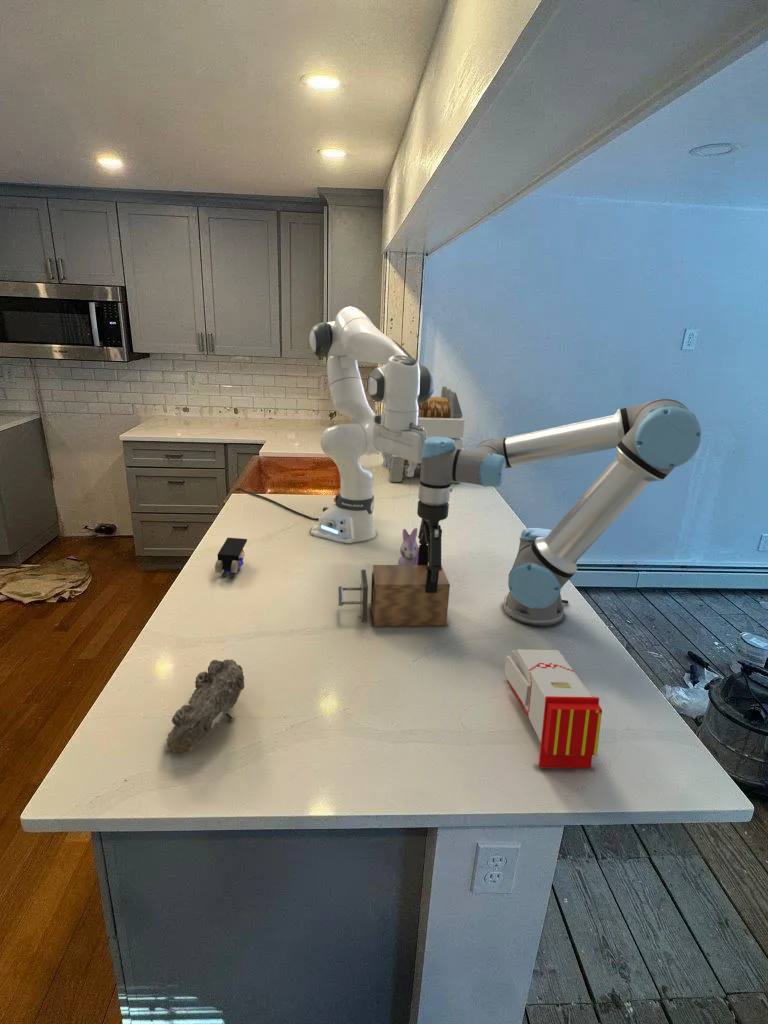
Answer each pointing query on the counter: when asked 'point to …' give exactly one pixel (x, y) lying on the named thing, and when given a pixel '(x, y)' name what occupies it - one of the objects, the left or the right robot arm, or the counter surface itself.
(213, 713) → the fossil
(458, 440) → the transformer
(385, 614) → the cabinet
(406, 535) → the figurine
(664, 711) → the counter surface
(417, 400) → the left robot arm
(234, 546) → the figurine character
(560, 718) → the toy
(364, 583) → the drawer
